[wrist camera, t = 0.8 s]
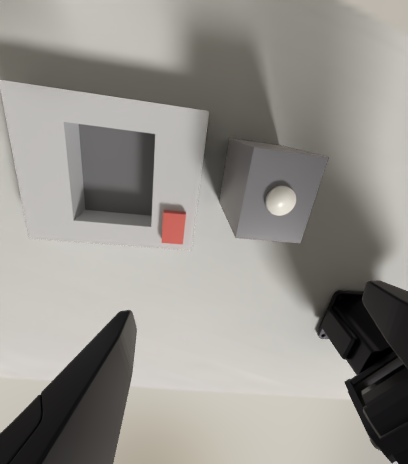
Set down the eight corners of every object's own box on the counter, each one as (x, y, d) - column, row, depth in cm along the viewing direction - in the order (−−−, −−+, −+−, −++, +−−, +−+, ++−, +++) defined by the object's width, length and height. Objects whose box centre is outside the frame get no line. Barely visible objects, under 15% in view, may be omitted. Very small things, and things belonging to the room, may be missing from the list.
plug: (279, 145, 19) (332, 158, 12) (264, 205, 21) (302, 245, 14) (229, 138, 18) (255, 147, 12) (218, 201, 20) (236, 240, 14)
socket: (205, 112, 17) (210, 110, 14) (191, 236, 21) (192, 254, 19) (25, 85, 16) (-10, 77, 13) (46, 225, 20) (23, 242, 17)
